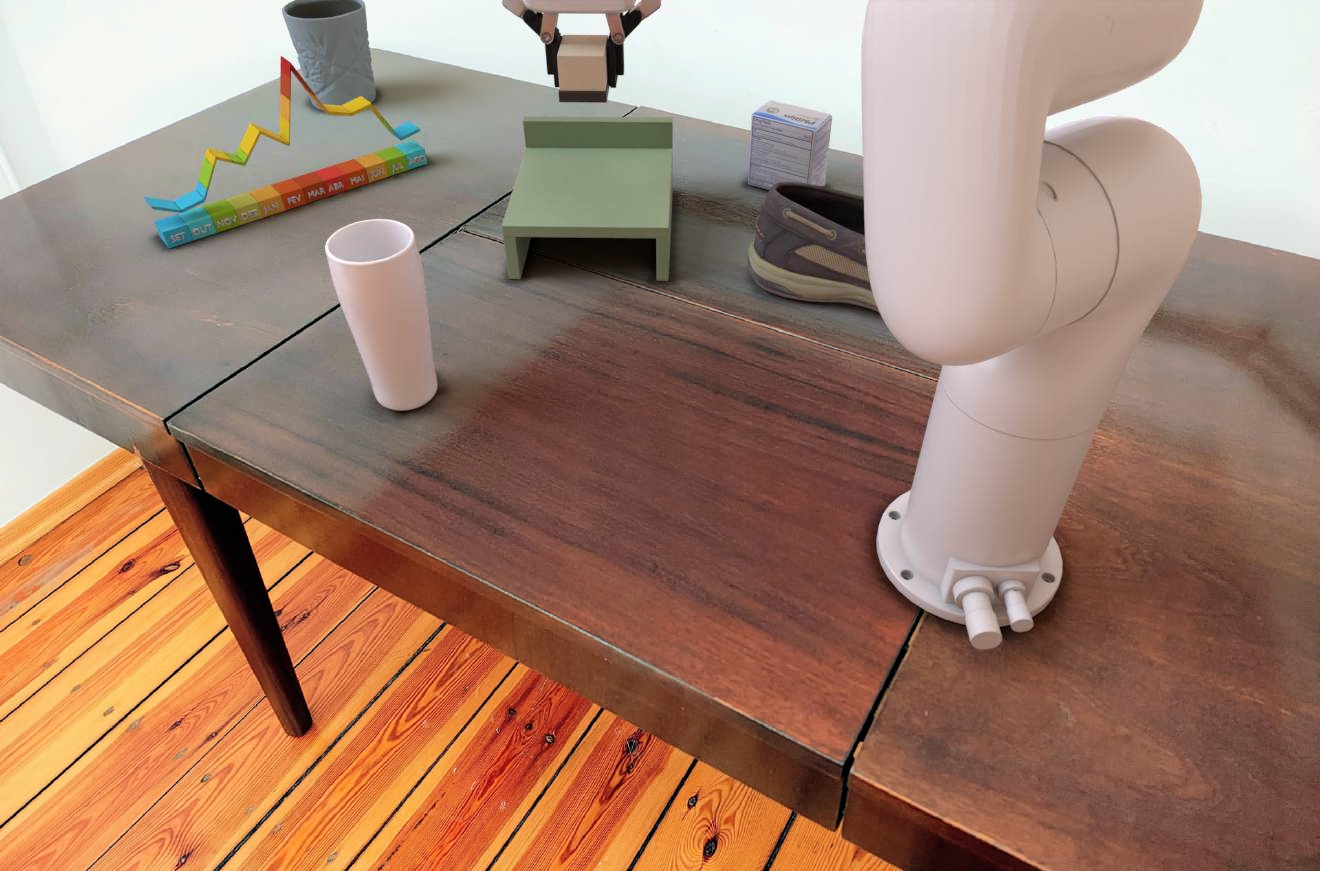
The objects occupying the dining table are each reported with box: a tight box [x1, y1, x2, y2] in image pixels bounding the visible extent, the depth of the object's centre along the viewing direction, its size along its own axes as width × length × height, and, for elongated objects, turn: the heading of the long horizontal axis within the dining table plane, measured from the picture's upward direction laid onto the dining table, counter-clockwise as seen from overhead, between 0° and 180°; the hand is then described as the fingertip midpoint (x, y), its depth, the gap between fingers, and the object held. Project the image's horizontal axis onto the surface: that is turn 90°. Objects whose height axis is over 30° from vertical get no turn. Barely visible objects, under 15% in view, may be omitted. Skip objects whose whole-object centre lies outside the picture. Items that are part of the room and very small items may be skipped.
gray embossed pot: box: [281, 0, 377, 111], centre depth 122 cm, size 10×10×12 cm
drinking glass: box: [324, 218, 439, 412], centre depth 75 cm, size 7×7×15 cm
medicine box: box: [747, 100, 833, 191], centre depth 104 cm, size 8×4×9 cm, turn 58°
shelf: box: [501, 116, 674, 282], centre depth 96 cm, size 18×16×9 cm
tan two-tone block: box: [557, 34, 610, 104], centre depth 87 cm, size 8×4×4 cm, turn 178°
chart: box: [143, 55, 428, 249], centre depth 101 cm, size 30×3×15 cm, turn 129°
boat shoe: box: [746, 182, 880, 313], centre depth 87 cm, size 11×29×11 cm, turn 78°
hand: (586, 80), depth 88 cm, fingers closed on tan two-tone block, 4 cm apart
